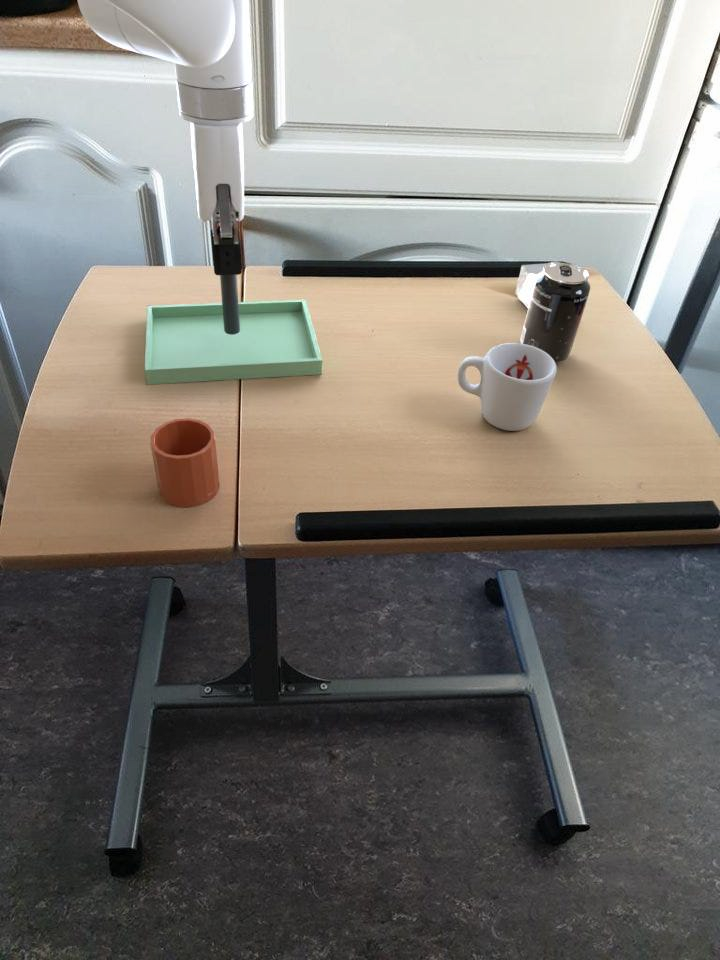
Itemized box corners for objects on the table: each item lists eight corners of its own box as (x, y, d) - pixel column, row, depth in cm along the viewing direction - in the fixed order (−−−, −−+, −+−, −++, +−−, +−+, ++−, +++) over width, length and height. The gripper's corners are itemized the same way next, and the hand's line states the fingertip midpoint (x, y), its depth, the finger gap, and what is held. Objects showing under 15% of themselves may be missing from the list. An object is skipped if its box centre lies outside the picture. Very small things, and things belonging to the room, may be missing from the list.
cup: (442, 420, 83) (453, 363, 77) (461, 385, 88) (472, 329, 83) (532, 446, 80) (550, 389, 75) (546, 408, 86) (563, 352, 80)
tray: (146, 384, 84) (144, 370, 83) (149, 319, 95) (147, 305, 94) (322, 374, 88) (322, 360, 87) (305, 313, 99) (305, 299, 97)
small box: (547, 291, 108) (555, 261, 105) (564, 309, 104) (573, 279, 101) (513, 293, 107) (520, 263, 104) (529, 312, 103) (537, 281, 100)
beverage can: (566, 344, 97) (591, 263, 89) (570, 372, 92) (596, 288, 84) (517, 338, 98) (537, 256, 89) (517, 365, 93) (539, 280, 84)
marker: (223, 335, 89) (215, 228, 80) (223, 326, 91) (214, 220, 81) (241, 334, 89) (235, 227, 80) (240, 325, 91) (233, 219, 82)
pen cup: (159, 510, 69) (150, 460, 65) (159, 469, 74) (151, 420, 69) (220, 504, 70) (216, 455, 66) (217, 464, 75) (213, 416, 70)
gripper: (177, 77, 77) (193, 239, 89) (178, 124, 65) (197, 302, 78) (246, 78, 78) (253, 238, 91) (259, 124, 67) (265, 300, 79)
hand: (227, 266), depth 84 cm, fingers closed on marker, 2 cm apart
